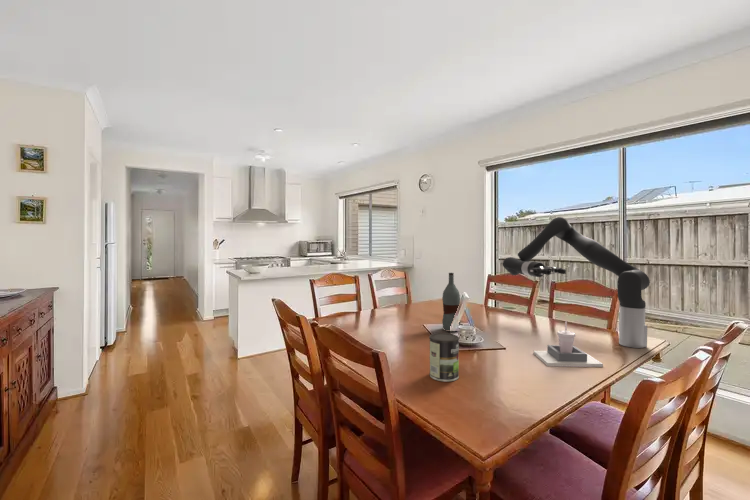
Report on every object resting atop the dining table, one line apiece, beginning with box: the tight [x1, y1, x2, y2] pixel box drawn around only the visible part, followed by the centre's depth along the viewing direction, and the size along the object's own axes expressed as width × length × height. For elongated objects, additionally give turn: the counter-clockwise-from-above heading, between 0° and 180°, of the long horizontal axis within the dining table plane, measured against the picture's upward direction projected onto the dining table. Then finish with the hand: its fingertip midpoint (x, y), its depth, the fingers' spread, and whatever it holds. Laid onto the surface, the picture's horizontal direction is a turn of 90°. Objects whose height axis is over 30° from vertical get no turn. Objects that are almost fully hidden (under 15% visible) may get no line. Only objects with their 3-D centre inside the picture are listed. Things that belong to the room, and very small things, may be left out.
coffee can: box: [428, 332, 460, 383], centre depth 124 cm, size 10×10×14 cm
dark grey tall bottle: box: [442, 272, 461, 330], centre depth 183 cm, size 9×9×30 cm
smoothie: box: [556, 320, 576, 353], centre depth 138 cm, size 6×6×14 cm
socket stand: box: [533, 344, 604, 368], centre depth 138 cm, size 20×14×4 cm
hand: (557, 272), depth 163 cm, fingers open, 8 cm apart
